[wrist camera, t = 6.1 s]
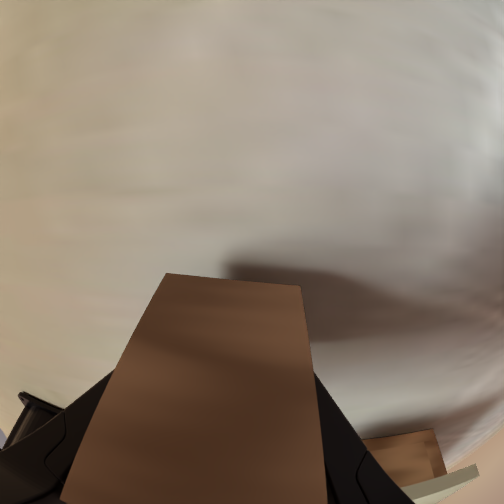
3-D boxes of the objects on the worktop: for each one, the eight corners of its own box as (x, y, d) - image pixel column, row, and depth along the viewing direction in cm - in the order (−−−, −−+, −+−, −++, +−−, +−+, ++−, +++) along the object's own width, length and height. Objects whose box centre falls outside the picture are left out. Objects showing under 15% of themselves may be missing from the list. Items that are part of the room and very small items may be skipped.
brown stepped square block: (175, 362, 10) (122, 557, 3) (166, 273, 9) (47, 535, 2) (281, 374, 10) (282, 580, 3) (300, 285, 9) (331, 586, 2)
